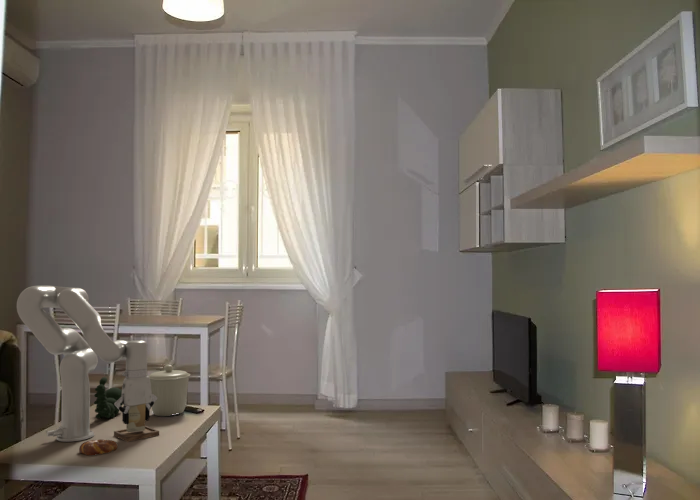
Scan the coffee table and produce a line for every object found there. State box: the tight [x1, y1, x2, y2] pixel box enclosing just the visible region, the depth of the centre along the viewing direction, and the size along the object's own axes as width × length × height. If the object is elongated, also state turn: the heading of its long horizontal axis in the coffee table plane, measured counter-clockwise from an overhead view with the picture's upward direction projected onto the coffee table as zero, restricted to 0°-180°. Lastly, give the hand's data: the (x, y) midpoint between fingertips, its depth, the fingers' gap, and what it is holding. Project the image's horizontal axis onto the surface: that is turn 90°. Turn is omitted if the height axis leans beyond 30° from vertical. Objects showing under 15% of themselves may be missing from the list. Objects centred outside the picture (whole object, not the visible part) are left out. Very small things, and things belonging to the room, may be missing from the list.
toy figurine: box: [93, 376, 124, 419], centre depth 249 cm, size 9×19×25 cm
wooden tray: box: [113, 425, 160, 443], centre depth 216 cm, size 12×12×2 cm
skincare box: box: [125, 398, 146, 432], centre depth 217 cm, size 6×4×12 cm
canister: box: [148, 364, 191, 417], centre depth 251 cm, size 18×18×21 cm
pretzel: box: [78, 439, 118, 456], centre depth 198 cm, size 12×11×4 cm
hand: (136, 421), depth 217 cm, fingers closed on skincare box, 7 cm apart
